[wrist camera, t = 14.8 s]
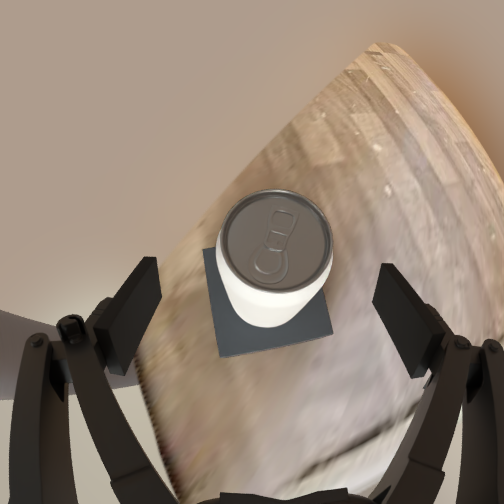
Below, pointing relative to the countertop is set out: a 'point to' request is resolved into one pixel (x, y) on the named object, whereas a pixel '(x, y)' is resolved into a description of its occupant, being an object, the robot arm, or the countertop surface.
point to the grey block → (253, 337)
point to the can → (273, 255)
